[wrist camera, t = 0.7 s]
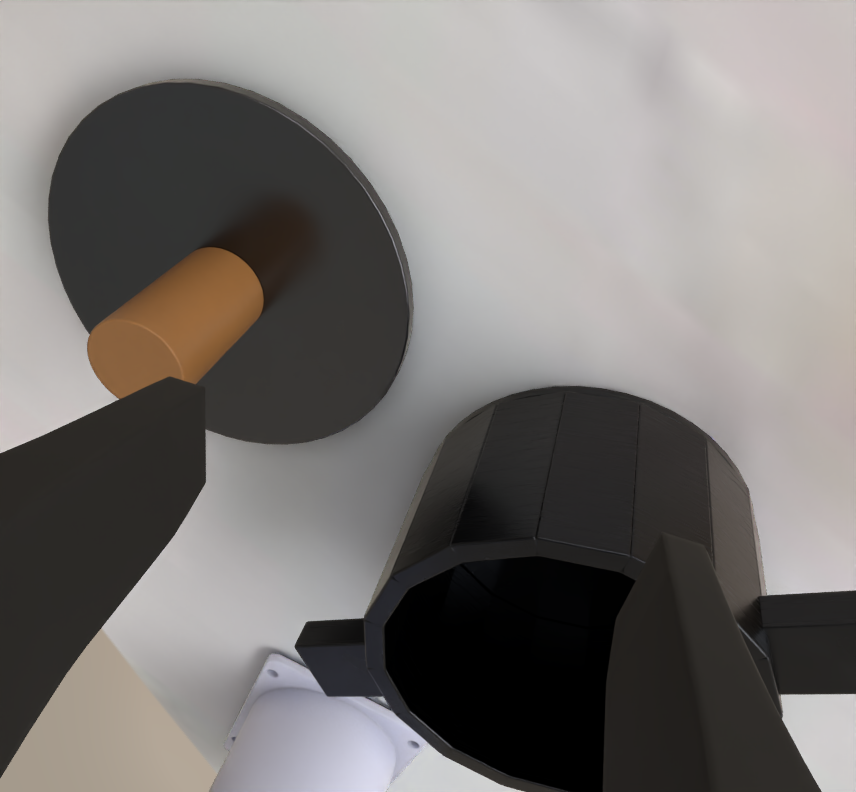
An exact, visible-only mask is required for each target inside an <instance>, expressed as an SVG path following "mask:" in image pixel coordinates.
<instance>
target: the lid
mask: <svg viewBox="0 0 856 792" xmlns="http://www.w3.org/2000/svg"><path fill="white" fill-rule="evenodd" d="M48 223H49V232H50V241H51V246H52V250H53V255H54V259H55V263H56V267H57V270H58V273H59V275H60V278H61V281H62V284H63V287H64V289H65V291H66V293H67V295H68V298H69V300H70V302H71V304H72V306H73V308H74V310H75V312H76V313H77V315H78V317H79V318H80V320H81V322H82V324H83V325H84V327H85V329H86V330H87V331H88V333H89V334H90V336H89V339H88V343H87V351H88V357H89V361H90V364H91V366H92V368H93V370H94V372H95V374H96V376H97V377H98V379H99V380H100V381H101V383H102V384H103V385H104V386H105V387H106V388H107V389H108V390H109V391H110V392H111V393H112V394H113V395H115V396H116V397H117V398H119V399H122V398H124V397H126V396H128V395H130V394H132V393H134V392H136V391H138V390H140V389H142V388H144V387H147V386H149V385H151V384H153V383H155V382H157V381H160V380H162V379H164V378H167V377H169V376H171V377H174V378H177V379H180V380H183V381H186V382H190V383H193V384H196V385H199V386H202V387H205V429H207V430H209V431H212V432H215V433H218V434H221V435H224V436H227V437H231V438H235V439H239V440H243V441H248V442H255V443H263V444H295V443H304V442H309V441H314V440H318V439H322V438H325V437H328V436H330V435H333V434H335V433H338V432H340V431H343V430H344V429H346V428H348V427H349V426H351V425H353V424H354V423H356V422H358V421H359V420H360V419H362V418H363V417H364V416H365V415H366V414H368V413H369V412H370V411H371V410H372V409H374V407H375V406H376V405H377V404H378V403H379V402H380V400H381V399H382V398H383V397H384V396H385V395H386V393H387V391H388V390H389V388H390V386H391V385H392V383H393V381H394V380H395V378H396V376H397V374H398V373H399V371H400V368H401V366H402V363H403V361H404V358H405V356H406V353H407V350H408V346H409V341H410V337H411V333H412V323H413V309H414V307H413V293H412V282H411V277H410V272H409V267H408V262H407V258H406V255H405V252H404V249H403V246H402V243H401V240H400V237H399V234H398V232H397V230H396V228H395V226H394V223H393V221H392V219H391V217H390V215H389V213H388V211H387V209H386V207H385V205H384V204H383V202H382V201H381V199H380V197H379V196H378V194H377V193H376V191H375V190H374V188H373V186H372V185H371V183H370V182H369V181H368V179H367V178H366V177H365V176H364V174H363V173H362V172H361V171H360V169H359V168H358V167H357V166H356V164H355V163H354V162H353V161H352V160H351V158H350V157H348V156H347V155H346V154H345V153H344V152H343V151H342V150H341V149H340V148H339V147H338V146H337V145H336V144H335V143H334V142H333V141H332V140H331V139H330V138H329V137H328V136H327V135H325V134H324V133H323V132H321V131H320V130H319V129H318V128H316V127H315V126H314V125H313V124H311V123H310V122H309V121H307V120H306V119H305V118H303V117H301V116H300V115H298V114H296V113H295V112H293V111H291V110H290V109H288V108H286V107H285V106H283V105H282V104H280V103H278V102H275V101H273V100H271V99H269V98H267V97H264V96H262V95H260V94H258V93H255V92H253V91H250V90H247V89H243V88H240V87H237V86H233V85H230V84H227V83H222V82H215V81H208V80H202V79H170V80H164V81H158V82H152V83H148V84H145V85H142V86H139V87H136V88H133V89H131V90H128V91H125V92H122V93H120V94H117V95H116V96H114V97H112V98H111V99H109V100H107V101H105V102H104V103H102V104H100V105H99V106H97V107H96V108H95V109H94V110H93V111H92V112H91V113H89V114H88V115H87V116H86V117H85V118H84V119H83V120H82V121H81V122H80V123H79V125H78V126H77V127H76V128H75V130H74V131H73V132H72V133H71V135H70V136H69V138H68V140H67V141H66V143H65V145H64V147H63V149H62V151H61V153H60V155H59V157H58V160H57V163H56V166H55V169H54V172H53V175H52V180H51V186H50V193H49V203H48Z"/></svg>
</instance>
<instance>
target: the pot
mask: <svg viewBox="0 0 856 792" xmlns="http://www.w3.org/2000/svg"><path fill="white" fill-rule="evenodd" d="M661 532H664V533H667V534H670V535H674V536H677V537H680V538H683V539H686V540H689V541H693V542H696V543H699V544H702V545H704V547H705V549H706V550H707V552H708V555H709V557H710V560H711V562H712V564H713V567H714V569H715V572H716V574H717V577H718V579H719V582H720V584H721V587H722V589H723V592H724V594H725V596H726V599H727V601H728V604H729V606H730V608H731V611H732V613H733V616H734V618H735V620H736V623H737V625H738V627H739V630H740V632H741V634H742V636H743V639H744V641H745V643H746V645H747V648H748V650H749V652H750V654H751V656H752V658H753V661H754V663H755V665H756V667H757V669H758V671H759V673H760V675H761V678H762V680H763V682H764V684H765V686H766V688H767V690H768V692H769V695H770V697H771V699H772V701H773V703H774V705H775V707H776V709H777V711H778V713H779V715H780V717H781V719H782V717H783V714H782V713H783V710H782V703H781V695H780V694H856V591H839V592H822V593H804V594H786V595H768V596H767V593H766V585H765V578H764V571H763V563H762V556H761V549H760V541H759V535H758V531H757V526H756V522H755V517H754V512H753V504H752V501H751V498H750V494H749V490H748V488H747V485H746V484H745V482H744V480H743V478H742V476H741V474H740V472H739V470H738V468H737V467H736V466H735V464H734V463H733V462H732V460H731V459H730V458H729V456H728V455H727V453H726V452H725V451H724V450H723V449H722V448H721V447H720V446H719V445H718V444H717V443H716V442H715V441H714V440H713V439H712V438H711V437H710V436H709V435H707V434H706V433H705V432H703V431H702V430H701V429H700V428H698V427H697V426H696V425H694V424H693V423H692V422H690V421H688V420H687V419H685V418H683V417H682V416H680V415H678V414H677V413H675V412H673V411H671V410H669V409H667V408H665V407H662V406H660V405H658V404H656V403H654V402H651V401H649V400H646V399H642V398H639V397H636V396H633V395H630V394H627V393H622V392H617V391H612V390H607V389H602V388H592V387H581V386H561V387H548V388H540V389H532V390H528V391H524V392H520V393H516V394H512V395H509V396H507V397H504V398H501V399H499V400H496V401H493V402H491V403H489V404H488V405H486V406H484V407H482V408H480V409H478V410H476V411H475V412H473V413H472V414H471V415H469V416H468V417H466V418H465V419H464V420H462V421H461V422H460V423H459V424H458V425H457V426H456V427H455V428H454V429H453V430H452V431H451V432H450V433H449V434H448V435H447V436H446V438H445V439H444V440H443V442H442V443H441V445H440V446H439V447H438V449H437V451H436V453H435V455H434V457H433V459H432V461H431V463H430V465H429V467H428V468H427V470H426V472H425V473H424V475H423V477H422V479H421V482H420V484H419V487H418V489H417V491H416V494H415V496H414V499H413V501H412V503H411V506H410V508H409V510H408V513H407V515H406V518H405V520H404V522H403V525H402V527H401V529H400V532H399V534H398V537H397V539H396V541H395V544H394V546H393V549H392V551H391V553H390V556H389V558H388V560H387V563H386V565H385V568H384V570H383V572H382V575H381V577H380V579H379V582H378V584H377V587H376V589H375V591H374V594H373V596H372V599H371V601H370V603H369V606H368V608H367V610H366V613H365V615H364V618H361V619H343V620H325V621H308V622H306V624H305V626H304V628H303V630H302V632H301V634H300V636H299V638H298V640H297V642H296V644H295V649H296V650H297V652H298V653H299V655H300V656H301V658H302V659H303V661H304V662H305V664H306V666H307V667H308V669H309V670H310V672H311V673H312V675H313V676H314V678H315V679H316V681H317V682H318V684H319V685H320V687H321V688H322V690H323V692H324V693H325V695H326V696H327V697H384V698H385V700H386V701H387V703H388V705H389V706H390V708H391V710H392V711H393V713H395V715H396V716H397V717H398V718H399V719H401V720H402V721H403V722H404V723H405V724H406V725H408V726H409V727H410V728H411V729H412V730H413V731H415V732H416V733H417V734H418V735H419V736H420V737H422V738H423V739H424V740H425V741H426V742H428V743H429V744H430V745H431V746H432V747H433V748H435V749H436V750H437V751H438V752H439V753H441V754H442V755H443V756H445V757H447V758H449V759H451V760H453V761H455V762H457V763H459V764H461V765H463V766H465V767H467V768H469V769H471V770H473V771H475V772H477V773H479V774H481V775H483V776H485V777H487V778H489V779H491V780H492V781H494V782H496V783H498V784H500V785H504V786H506V787H510V788H514V789H517V790H521V791H525V792H603V763H604V729H605V699H606V680H607V673H608V666H609V659H610V653H611V646H612V640H613V634H614V628H615V622H616V618H617V616H618V614H619V612H620V610H621V608H622V606H623V604H624V602H625V600H626V599H627V597H628V595H629V593H630V591H631V589H632V587H633V585H634V583H635V582H636V580H637V578H638V576H639V574H640V572H641V570H642V568H643V566H644V565H645V563H646V561H647V559H648V557H649V555H650V553H651V551H652V549H653V548H654V546H655V544H656V542H657V540H658V538H659V536H660V534H661Z"/></svg>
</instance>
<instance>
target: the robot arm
mask: <svg viewBox="0 0 856 792" xmlns="http://www.w3.org/2000/svg"><path fill="white" fill-rule="evenodd" d="M205 483H206V440H205V387H202V386H199V385H196V384H193V383H190V382H186V381H183V380H180V379H177V378H174V377H171V376H169V377H167V378H164V379H162V380H160V381H157V382H155V383H153V384H151V385H149V386H147V387H144V388H142V389H140V390H138V391H136V392H134V393H132V394H130V395H128V396H126V397H124V398H122V399H119V400H117V401H115V402H113V403H111V404H109V405H107V406H105V407H103V408H101V409H99V410H97V411H95V412H92V413H90V414H88V415H86V416H84V417H82V418H80V419H77V420H75V421H73V422H71V423H69V424H67V425H65V426H62V427H60V428H58V429H56V430H54V431H52V432H50V433H47V434H45V435H43V436H41V437H39V438H36V439H34V440H31V441H29V442H27V443H24V444H22V445H19V446H17V447H15V448H12V449H10V450H7V451H5V452H3V453H0V778H1V776H2V775H3V773H4V771H5V770H6V768H7V766H8V765H9V763H10V762H11V760H12V758H13V757H14V755H15V754H16V752H17V750H18V749H19V747H20V745H21V744H22V742H23V740H24V739H25V737H26V735H27V734H28V732H29V731H30V729H31V728H32V726H33V724H34V723H35V722H36V720H37V718H38V717H39V715H40V714H41V712H42V711H43V709H44V708H45V706H46V705H47V703H48V701H49V700H50V698H51V697H52V695H53V693H54V692H55V690H56V689H57V687H58V685H59V684H60V683H61V681H62V680H63V678H64V677H65V675H66V673H67V672H68V671H69V670H70V668H71V667H72V665H73V664H74V663H75V661H76V660H77V658H78V657H79V656H80V654H81V653H82V652H83V650H84V649H85V648H86V646H87V645H88V644H89V643H90V641H91V640H92V639H93V637H94V636H95V635H96V634H97V633H98V631H99V630H100V629H101V628H102V626H103V625H104V624H105V623H106V621H107V620H108V619H109V617H110V616H111V615H112V614H113V612H114V611H115V610H116V609H117V607H118V606H119V605H120V604H121V602H122V601H123V600H124V599H125V597H126V596H127V595H128V594H129V592H130V591H131V590H132V589H133V587H134V586H135V585H136V584H137V582H138V581H139V580H140V579H141V577H142V576H143V575H144V574H145V572H146V571H147V570H148V568H149V567H150V566H151V565H152V563H153V562H154V561H155V560H156V558H157V557H158V556H159V554H160V553H161V552H162V551H163V549H164V548H165V547H166V545H167V544H168V543H169V541H170V540H171V539H172V538H173V536H174V535H175V533H176V532H177V530H178V528H179V527H180V525H181V524H182V522H183V520H184V519H185V517H186V516H187V514H188V512H189V511H190V509H191V507H192V505H193V504H194V502H195V500H196V498H197V497H198V495H199V493H200V492H201V490H202V488H203V486H204V485H205ZM427 744H428V742H426V741H425V740H424V739H423V738H422V737H420V736H419V735H418V734H417V733H416V732H415V731H413V730H412V729H411V728H410V727H409V726H408V725H406V724H405V723H404V722H403V721H402V720H401V719H399V718H398V717H397V716H396V715H395V713H393V711H391V710H389V709H387V708H385V707H383V706H381V705H379V704H377V703H375V702H373V701H371V700H369V699H367V698H365V697H327V696H326V695H325V693H324V692H323V690H322V688H321V687H320V685H319V684H318V682H317V681H316V679H315V678H314V676H313V675H312V673H311V672H310V670H309V669H308V668H306V667H304V666H302V665H300V664H298V663H296V662H294V661H292V660H290V659H288V658H286V657H284V656H282V655H279V654H270V655H269V656H268V658H267V660H266V662H265V664H264V666H263V667H262V669H261V671H260V673H259V675H258V677H257V679H256V681H255V683H254V685H253V687H252V689H251V691H250V693H249V695H248V697H247V699H246V701H245V703H244V705H243V706H242V708H241V710H240V712H239V714H238V716H237V718H236V720H235V722H234V724H233V726H232V728H231V730H230V732H229V734H228V736H227V738H226V740H225V742H224V747H225V749H226V750H227V751H229V753H228V755H227V757H226V759H225V761H224V763H223V765H222V767H221V769H220V771H219V773H218V774H217V776H216V778H215V780H214V782H213V784H212V786H211V788H210V790H209V792H387V790H388V787H389V785H390V784H391V783H392V782H393V781H394V780H395V779H396V778H397V777H398V776H399V774H400V773H401V772H402V771H403V770H404V769H405V768H406V767H407V766H408V765H409V763H410V762H411V761H412V760H413V759H414V758H415V757H416V756H417V755H418V754H419V752H420V751H421V750H422V749H423V748H424V747H425V746H426V745H427ZM603 792H821V790H820V788H819V787H818V785H817V783H816V781H815V780H814V778H813V776H812V774H811V773H810V771H809V769H808V767H807V765H806V764H805V762H804V760H803V758H802V756H801V754H800V753H799V751H798V749H797V747H796V745H795V743H794V741H793V739H792V738H791V736H790V734H789V732H788V730H787V728H786V726H785V724H784V723H783V721H782V719H781V717H780V715H779V713H778V711H777V709H776V707H775V705H774V703H773V701H772V699H771V697H770V695H769V692H768V690H767V688H766V686H765V684H764V682H763V680H762V678H761V675H760V673H759V671H758V669H757V667H756V665H755V663H754V661H753V658H752V656H751V654H750V652H749V650H748V648H747V645H746V643H745V641H744V639H743V636H742V634H741V632H740V630H739V627H738V625H737V623H736V620H735V618H734V616H733V613H732V611H731V608H730V606H729V604H728V601H727V599H726V596H725V594H724V592H723V589H722V587H721V584H720V582H719V579H718V577H717V574H716V572H715V569H714V567H713V564H712V562H711V560H710V557H709V555H708V552H707V550H706V549H705V547H704V545H702V544H699V543H696V542H693V541H689V540H686V539H683V538H680V537H677V536H674V535H670V534H667V533H664V532H661V534H660V536H659V538H658V540H657V542H656V544H655V546H654V548H653V549H652V551H651V553H650V555H649V557H648V559H647V561H646V563H645V565H644V566H643V568H642V570H641V572H640V574H639V576H638V578H637V580H636V582H635V583H634V585H633V587H632V589H631V591H630V593H629V595H628V597H627V599H626V600H625V602H624V604H623V606H622V608H621V610H620V612H619V614H618V616H617V618H616V622H615V628H614V634H613V640H612V646H611V653H610V659H609V666H608V673H607V680H606V699H605V729H604V763H603Z"/></svg>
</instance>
